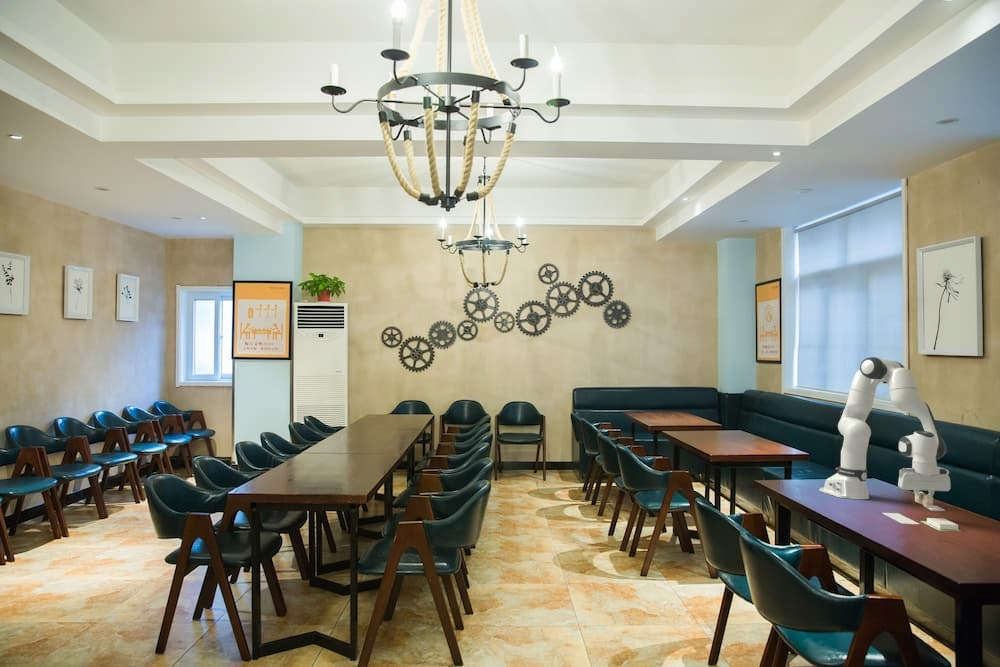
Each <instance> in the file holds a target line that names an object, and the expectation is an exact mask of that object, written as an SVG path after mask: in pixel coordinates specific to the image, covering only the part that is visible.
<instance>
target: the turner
mask: <svg viewBox="0 0 1000 667" xmlns="http://www.w3.org/2000/svg"><path fill="white" fill-rule="evenodd" d="M928 494H929V493H926V492H923V491H922V490H920V492H919V495H920V496H922V500H917V499H916V495H915V494H914V502H916V503H918V504H921V505H922V506H923V508H926V509H928V510H930V511H936V512H946V511H945V509H944V508H942V507H940V506H938V505H934V496H930V495H928Z"/></svg>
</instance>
